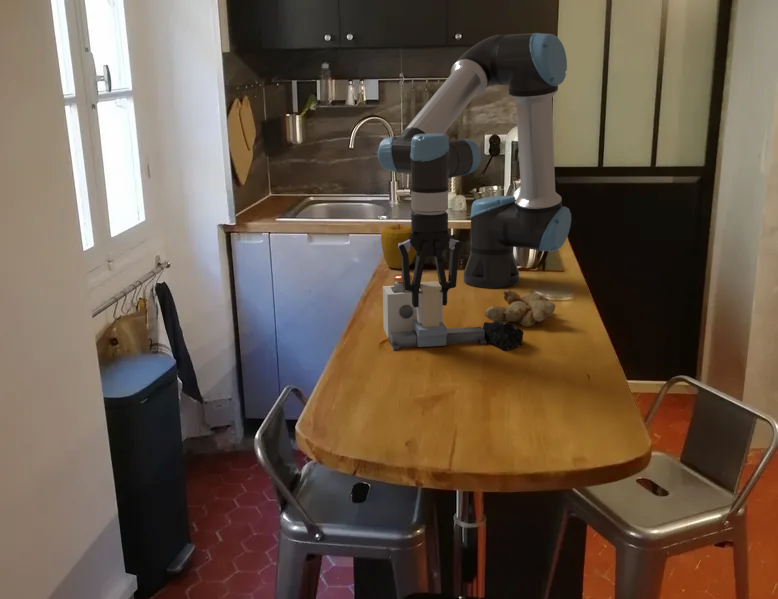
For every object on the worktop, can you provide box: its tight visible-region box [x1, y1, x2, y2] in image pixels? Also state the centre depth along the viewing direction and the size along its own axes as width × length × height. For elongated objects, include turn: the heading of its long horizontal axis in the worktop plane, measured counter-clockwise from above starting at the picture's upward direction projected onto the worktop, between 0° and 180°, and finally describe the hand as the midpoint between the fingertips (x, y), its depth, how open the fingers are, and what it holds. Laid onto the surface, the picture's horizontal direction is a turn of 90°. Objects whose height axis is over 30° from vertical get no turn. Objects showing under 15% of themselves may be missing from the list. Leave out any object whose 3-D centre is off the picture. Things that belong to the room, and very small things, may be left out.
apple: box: [380, 223, 417, 270], centre depth 232 cm, size 11×11×13 cm
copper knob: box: [393, 273, 413, 293], centre depth 173 cm, size 4×4×6 cm
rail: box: [388, 326, 487, 351], centre depth 169 cm, size 20×6×2 cm, turn 99°
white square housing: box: [382, 285, 420, 339], centre depth 174 cm, size 8×7×10 cm
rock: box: [482, 321, 524, 352], centre depth 168 cm, size 7×10×6 cm
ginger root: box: [483, 289, 556, 328], centre depth 182 cm, size 16×16×8 cm
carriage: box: [413, 280, 448, 348], centre depth 167 cm, size 6×7×13 cm
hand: (429, 320), depth 167 cm, fingers closed on carriage, 3 cm apart
